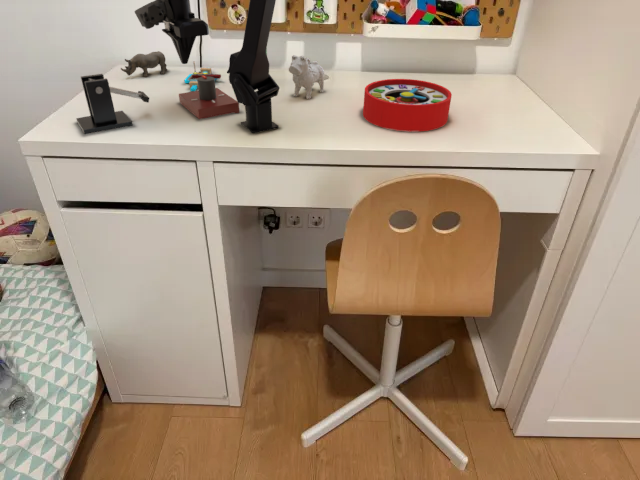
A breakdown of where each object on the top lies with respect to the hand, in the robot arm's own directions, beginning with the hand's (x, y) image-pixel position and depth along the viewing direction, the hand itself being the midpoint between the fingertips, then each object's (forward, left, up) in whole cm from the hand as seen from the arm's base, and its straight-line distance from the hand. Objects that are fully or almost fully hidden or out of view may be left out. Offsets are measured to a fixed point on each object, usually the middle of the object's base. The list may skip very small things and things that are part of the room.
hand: (184, 63), depth 111 cm
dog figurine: (-3, -31, -11) cm, 33 cm away
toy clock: (-28, -43, -11) cm, 52 cm away
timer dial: (0, -5, -8) cm, 10 cm away
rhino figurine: (+35, 0, -11) cm, 37 cm away
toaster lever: (+1, +16, -5) cm, 17 cm away
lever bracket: (+1, +19, -11) cm, 22 cm away
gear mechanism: (+21, -12, -11) cm, 26 cm away
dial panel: (0, -5, -11) cm, 12 cm away
